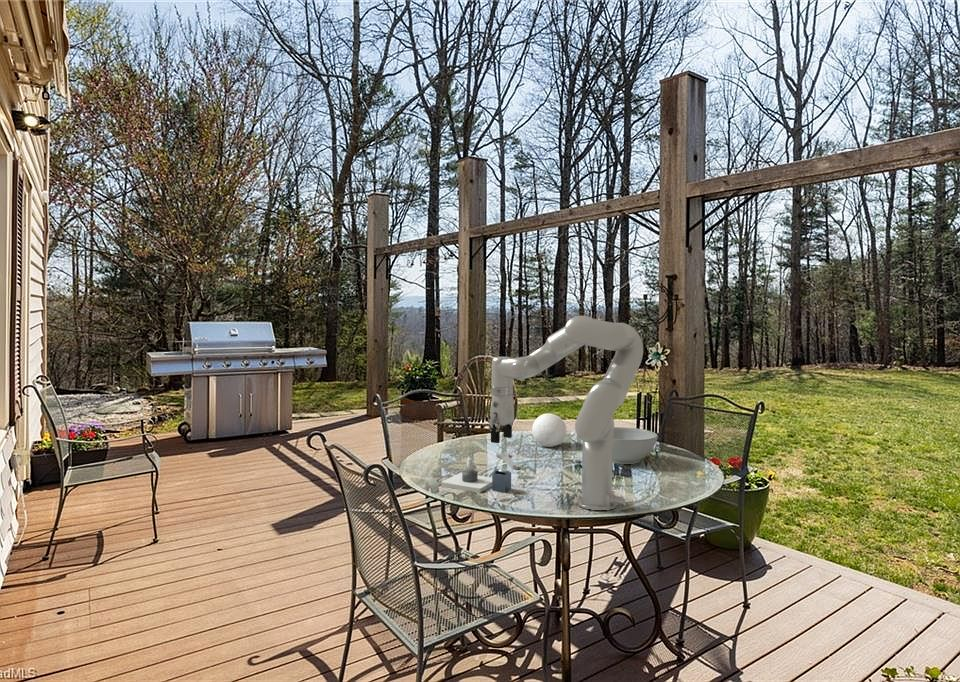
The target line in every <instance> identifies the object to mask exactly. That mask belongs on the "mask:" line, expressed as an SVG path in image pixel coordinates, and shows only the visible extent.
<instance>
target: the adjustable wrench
mask: <svg viewBox="0 0 960 682" xmlns="http://www.w3.org/2000/svg"><path fill="white" fill-rule="evenodd" d="M495 453H496V454H495V458H496V459H502V460H503V461H504V462H505V463H506V464H507V465H508V466H509V467H510V468H511V469H512V470H513V471H514V470H519V467H520V466H519V465H518V464H517V463H516V462H515V461H514V460H512V458H511V452H508V451H502V453H500V452H495Z"/></svg>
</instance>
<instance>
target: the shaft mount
mask: <svg viewBox="0 0 960 682" xmlns="http://www.w3.org/2000/svg"><path fill="white" fill-rule="evenodd" d="M440 486H441V487H445V488H450V489H456V490H462V491H465V492H471V493H472V492H473V493H478V494H480V493H482V492H483V491H484V492H485V491H486V490H488V489H489V488H492V476H491V477H490V476H484V475H478V471H477V470H474V460H473V458H472V457H468V458H467V459H466V470H462V472H460V473H458V474H455V475H452V476H451V477H449V478H447V479H444V480H442V481H440Z"/></svg>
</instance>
